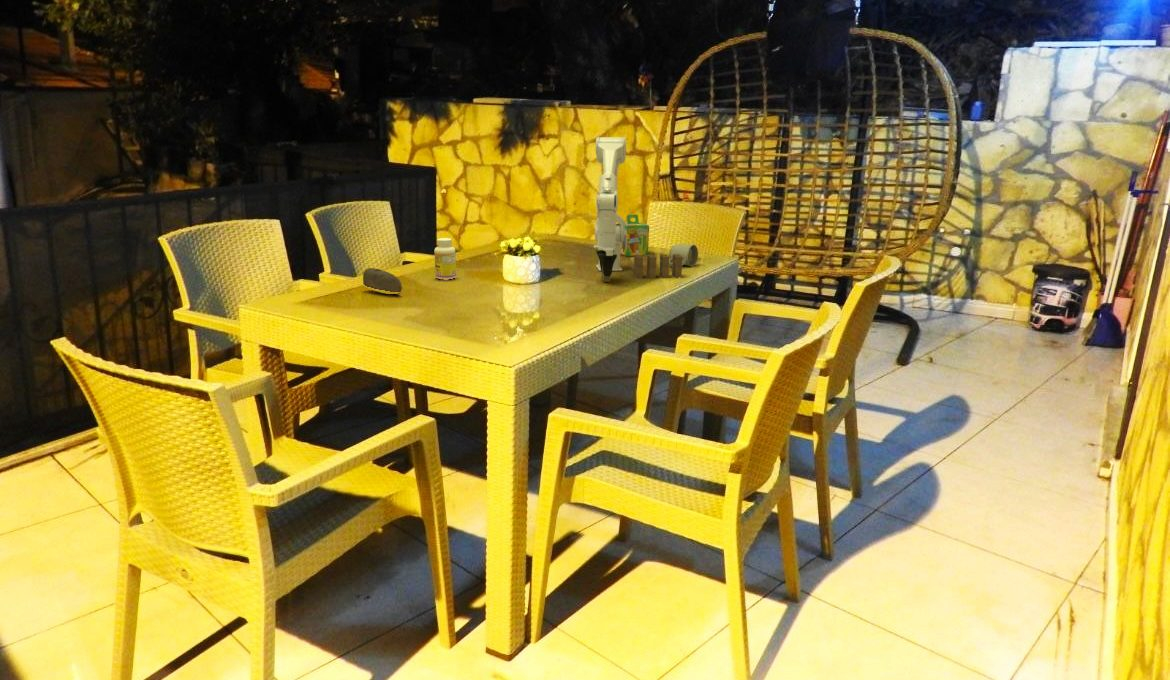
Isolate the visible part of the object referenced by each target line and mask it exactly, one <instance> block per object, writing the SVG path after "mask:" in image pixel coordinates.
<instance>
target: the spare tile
mask: <svg viewBox="0 0 1170 680" xmlns="http://www.w3.org/2000/svg"><path fill="white" fill-rule="evenodd" d="M601 279H602V281H603V282H604V283H608V282H609V283H611V276H604V274H603V267H602V272H601Z"/></svg>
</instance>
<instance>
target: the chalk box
mask: <svg viewBox="0 0 1170 680" xmlns="http://www.w3.org/2000/svg"><path fill="white" fill-rule="evenodd" d="M632 218H634V219H635V220H634V221H631V219H632ZM617 224H619V223H617ZM649 239H650V225H649V224H646V223H643V222H639V215H638V214H627V215H626V222H624V241H623V242H621V243H620V255H622V256H624V257H625V256H626V257H634V255H647V254H649V245H650V244H649V241H650V240H649Z"/></svg>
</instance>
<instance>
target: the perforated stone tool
mask: <svg viewBox="0 0 1170 680" xmlns="http://www.w3.org/2000/svg"><path fill="white" fill-rule="evenodd" d="M362 273H363V275H362V282H363V286H364V285H365V286H367V287H371V288H374V289H379V290H385V291H390V292H400V293H401V292H402V291H403V286H402V283H401V280H400V279H399V278H398V277H397V276H396V275H395V274H393V273H390V272H388V271H386V270H383V269H379V268H375V267H370V268H366V269H364V271H363V272H362ZM365 286H364V287H365Z"/></svg>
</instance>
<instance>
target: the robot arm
mask: <svg viewBox="0 0 1170 680" xmlns="http://www.w3.org/2000/svg"><path fill="white" fill-rule="evenodd" d="M626 153H627V138H626V136H623V137H621V136H620V137H619V136H615V137H612V136H610V137H609V136H608V137H607V136H597V137H596V139H595V155H596V159H597V163H599V164H602V165H603V166H602V167H603V168H602V169H603V174H602V175H601V176H599V180H598V182H599V183H598V194H596V199H595V200H596V202H595V204H596V215H597V216H596V217H597V218H596V220H595V226H594V240H595V241H596V243H597V244H594V245H593V248H594V249H597V250H595V252H596V254H597V255H596V256H597V257H598V264H595V268H597V270H598V271H599V272H600V271H601V273H602V267H603V274H604V276H610V277H611V276H612V273H613V271H614V272H616V271H619V272H620V271H623V268H622V267H621V265H620V264H621V254H620V243H621V242H623V241H624V223H625V220H624V218H623V217H622V216H620V215H619V214H618V213H617V211H618V207H619V198H618V197H619V195H618V170H619V167H620V166H621V164H623V163H625V161H626ZM618 223H619V224H618Z"/></svg>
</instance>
